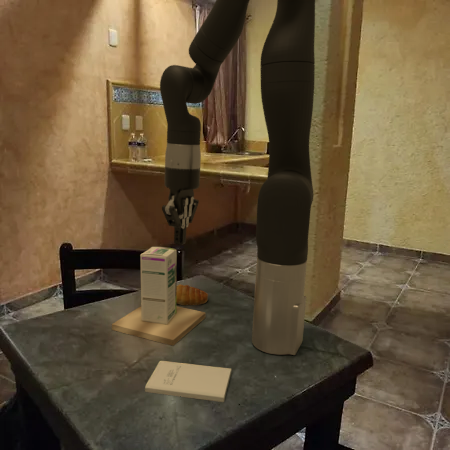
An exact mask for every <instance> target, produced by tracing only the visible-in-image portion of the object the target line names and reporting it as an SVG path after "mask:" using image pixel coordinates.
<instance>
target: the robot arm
mask: <svg viewBox="0 0 450 450" xmlns="http://www.w3.org/2000/svg"><path fill="white" fill-rule="evenodd" d="M250 1H251V0H215V2H214V4H213V6H212V8H211V9H210V11H209V13H208V15H207V17H206V18H205V20H204V21H203V23H202V24H201V26H200V28H199V29H198V31H197V33H196V34H195V36H194V37H193V39H192V40H191V42H190V44H189V47H188V55H189V57H190V59H191V61H192V62H193V63H194V64H195V65H194V66H193V67H189V66H183V65H179V64H178V65H176V64H172V65H169V66H167V67H166V68H165V69H164V70H163V72H162V74H161V77H160V79H159V80H160V81H159V92H160V98H161V102H162V105H163V110H164V115H165V119H166V123H167V127H166V128H167V129H166V130H167V131H166V148H165V156H164V186H165V188H167V189H169V194H168V203H166V205H165V204H164V205H162V206H161V211H162V213H163V215H164V218H165V220H166V222H167V225H168V226H169V227H172V228H174V233H173V234H174V235H173V243H174V244H175V245H178V246H183V245H185V244H186V242H187V228H188V227H189V224H192V223H193V220H194V217H195V215H196V211H197V209H198V206H199V199H195V197H194V196H195V192H194V190H197V189H199V188H200V183H201V182H200V181H201V161H202V158H201V157H202V156H201V132H202V123H201V120H200V118H199V117H197V116H195V115H192V114H191V113H190V112H189V109H188V106H187V104H193V105H194V104H195V105H197V104H200V103H202V102H204V101H205V100H206V99H207V98H208V97H209V96H210V94H211V93H212V91H213V88H214V85H215V83H216V80H217V78H218V75H219V71H220V68H221V65H222V64H223V63H224V62H225V60H226V59H227V57H228V56H229V54H230V53H231V51H233V48H234V47H235V46H236V44H237V43H238V41H239V39H240V37H241V34H242V32H243V30H244V26H245V23H246V16H247V10H248V8H249V3H250ZM269 28H270V29H269V30H268V33H267V34H266V38H265V40H264V44H263V47H262V49H261V55H260V94H261V95H260V96H261V104H262V110H263V117H264V122H265V127H266V130H267V131H266V132H267V136H268V145H269V148H268V149H269V150H268V152H269V154H268V167H267V169H268V171H267V179H266V180H265V181H264V182H263V183H262V185H261V187H260V189H259V191H258V196H257V204H256V205H257V206H256V228H255V229H256V230H255V242H256V246H257V247H256V249H257V252H256V253H257V254H256V268H255V269H256V270H255V284H254V296H253V298H254V300H253V318H252V329H251V343H252V345H253V346H254V348H256V349H257V350H259V351H262V352H264V353H267V354H271V355H279V356H280V355H291V356H292V355H293V356H295V355H296V354H297V352H298V350H299V349H300V347H301V345H302V343H303V339H304V338H303V337H304V329H305V316H306V307H307V306H306V305H307V296H306V295H305V286H306V276H307V266H308V265H307V263H308V254H309V252H308V251H309V231H310V220H311V209H312V204H313V201H314V195H315V194H314V187H313V181H312V180H313V179H312V178H313V177H312V170H311V157H310V135H311V127H312V121H313V111H314V110H313V109H314V97H315V96H314V94H315V73H316V72H315V71H316V70H315V69H316V68H315V66H316V65H315V64H316V63H315V37H316V36H315V34H316V33H315V32H316V31H315V30H316V29H315V28H316V0H277V2H276V12H275V15H274V18H273V21H272V24H271V26H270V27H269Z"/></svg>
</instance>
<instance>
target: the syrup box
mask: <svg viewBox="0 0 450 450" xmlns="http://www.w3.org/2000/svg"><path fill="white" fill-rule="evenodd" d="M177 254H178V253H177V249H176V248H171V247H166V246H151V247H150V248H149V249H147V250H146V251H144V252H143V253H141V254H140V255H139V256H140V303H141V304H140V306H141V319H142V321H146V322H152V323H159V324H168V322H169V321H170V320H171V319H172V318H173V317H174V315H175V314H176V313H177V312H176V306H177V304H176V288H177V287H176V286H178V284H177V283H178V282H177V281H178V280H177V276H178V275H177V269H178V268H177V264H178V263H177Z"/></svg>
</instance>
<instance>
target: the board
mask: <svg viewBox="0 0 450 450" xmlns="http://www.w3.org/2000/svg"><path fill="white" fill-rule="evenodd" d="M176 312H177V313H176V314H175V315H174V317H173V318H172V319H171V320H170V321H169V322H168V324H159V323H152V322H146V321H142V319H141V305H140V306H139V307H137V308H135V309H134V310H132V311H131V312H129V313H128V314H126V315H124V316H123V317H121V318H119V319H118V320H116V321H115V322H113V323H111V331H116V332H118V333H123V334H127V335H130V336H133V337H134V336H135V337H138V338H142V339H145V340H149V341H154V342H157V343H161V344H165V345H168V346H175V345H177V343H178V342H179V341H181V340H182V339H183V338H184V337H185V336H187V335H188V334H189V333H190V332H191V331H192V330H193V329H195V328H196V327H197V326H198V325H199V324H201V322H203V320H205V319H206V316H207V315H206V312H204V311H199V310H196V309H190V308H186V307H182V306H178V305H176Z"/></svg>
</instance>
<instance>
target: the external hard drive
mask: <svg viewBox="0 0 450 450" xmlns="http://www.w3.org/2000/svg"><path fill="white" fill-rule="evenodd" d="M231 376H232V368H227V367H219V366H209V365H201V364H192V363H185V362H183V363H182V362H174V361H166V360H160V361H159V362H158V363H157V365H156V366H155V369H154V371H153V372H152V373H151V376H150V377H149V378H148V381H147V383H146V384H145V387H144V392H146V393H152V394H159V395H167V396H174V397H180V396H181V397H182V398H189V399H197V400H205V401H209V402H210V401H211V402H217V403H218V402H219V403H224V402H225V400H226V395H227V392H228V388H229V385H230V379H231ZM181 397H180V398H181Z"/></svg>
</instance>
